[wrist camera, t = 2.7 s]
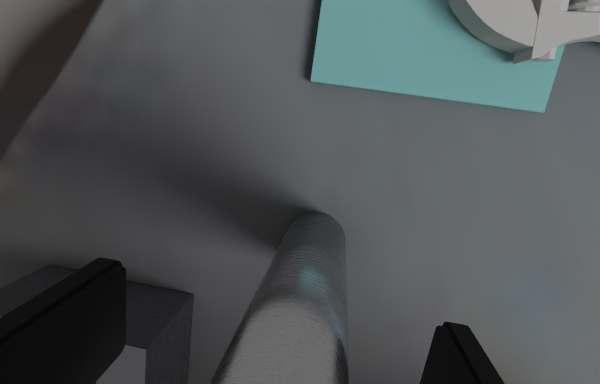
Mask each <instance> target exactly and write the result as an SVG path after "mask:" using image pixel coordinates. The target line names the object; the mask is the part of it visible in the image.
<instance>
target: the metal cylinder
mask: <svg viewBox="0 0 600 384" xmlns="http://www.w3.org/2000/svg"><path fill="white" fill-rule="evenodd" d="M210 384H349V381H348V338H347V294H346V251H345V235H344V232H343V229H342V227H341V226H340V224H339V223H338V222H337V221H336V220H335V219H333V218H332V217H330V216H329V215H326V214H324V213H319V212H310V213H306V214H303V215H301V216H299V217H297V218H296V219H295V220H294V221H293V222H292V223H291V225H290V226H289V228H288V230H287V232H286V234H285V236H284V238H283V240H282V242H281V244H280V246H279V248H278V250H277V252H276V254H275V256H274V258H273V260H272V262H271V264H270V266H269V268H268V270H267V272H266V273H265V275H264V277H263V279H262V281H261V283H260V285H259V287H258V289H257V291H256V293H255V295H254V297H253V299H252V301H251V303H250V305H249V307H248V309H247V311H246V313H245V315H244V317H243V319H242V321H241V323H240V325H239V327H238V329H237V331H236V333H235V335H234V337H233V339H232V341H231V343H230V345H229V346H228V348H227V350H226V352H225V354H224V356H223V358H222V360H221V362H220V364H219V366H218V368H217V370H216V372H215V374H214V376H213V378H212V380H211V382H210Z"/></svg>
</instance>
